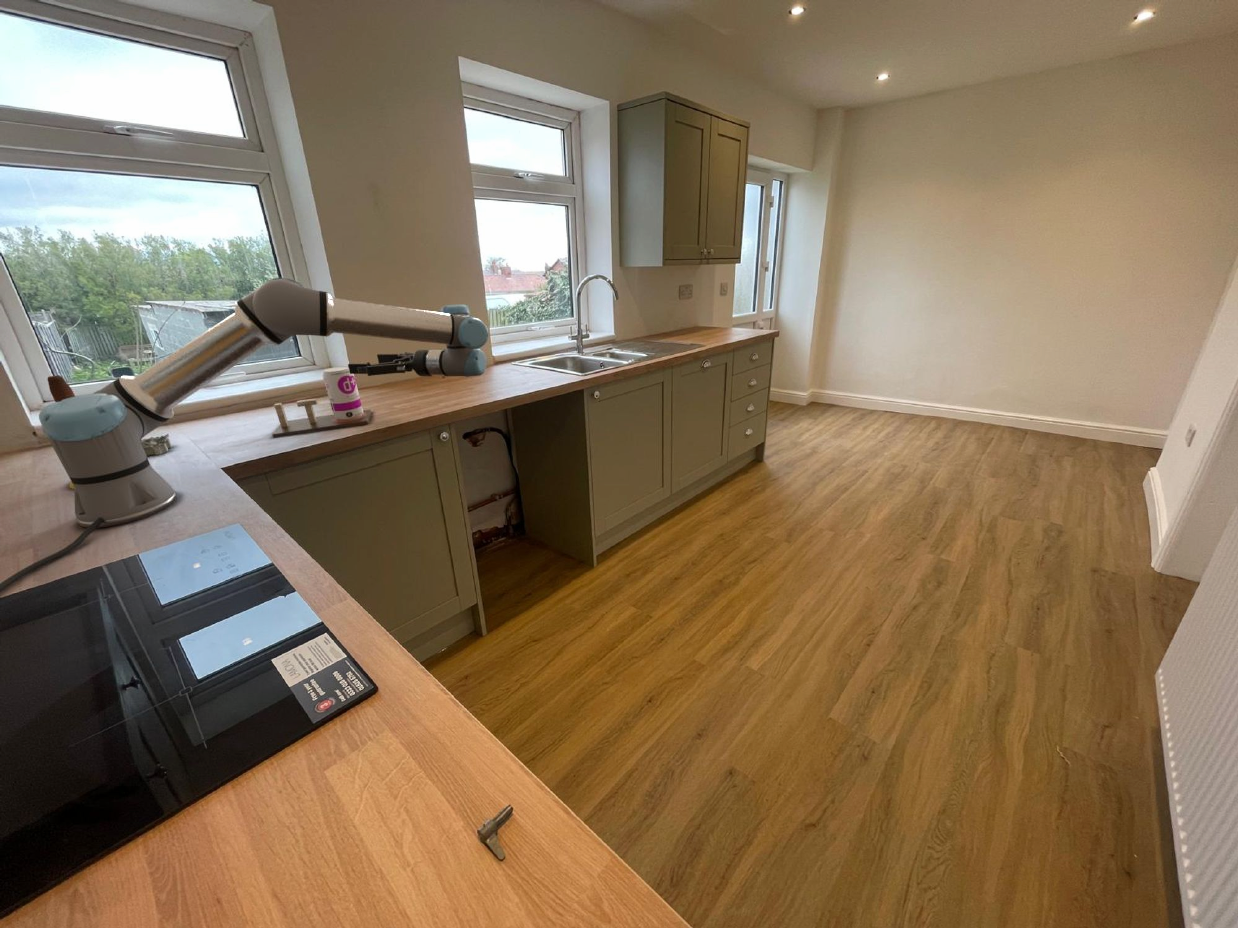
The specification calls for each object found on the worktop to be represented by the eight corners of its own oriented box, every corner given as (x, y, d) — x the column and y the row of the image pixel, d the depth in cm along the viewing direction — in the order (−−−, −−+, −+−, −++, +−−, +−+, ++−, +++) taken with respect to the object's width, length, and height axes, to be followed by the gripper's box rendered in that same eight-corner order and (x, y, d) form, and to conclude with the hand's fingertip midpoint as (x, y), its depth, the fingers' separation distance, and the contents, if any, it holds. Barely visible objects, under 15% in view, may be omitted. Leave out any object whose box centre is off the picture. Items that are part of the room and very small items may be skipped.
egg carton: (116, 461, 131) (108, 447, 130) (129, 452, 138) (122, 438, 136) (165, 453, 135) (159, 439, 133) (176, 445, 141) (170, 431, 140)
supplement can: (369, 414, 156) (357, 367, 150) (344, 422, 150) (330, 373, 144) (354, 411, 160) (342, 365, 154) (329, 419, 154) (315, 370, 148)
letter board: (368, 423, 151) (361, 398, 148) (273, 437, 144) (264, 410, 141) (371, 412, 163) (365, 388, 159) (283, 424, 155) (275, 399, 152)
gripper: (411, 387, 133) (339, 387, 137) (453, 366, 156) (391, 367, 159) (405, 359, 130) (332, 359, 134) (449, 342, 153) (386, 343, 156)
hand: (364, 363), depth 147 cm, fingers open, 13 cm apart
